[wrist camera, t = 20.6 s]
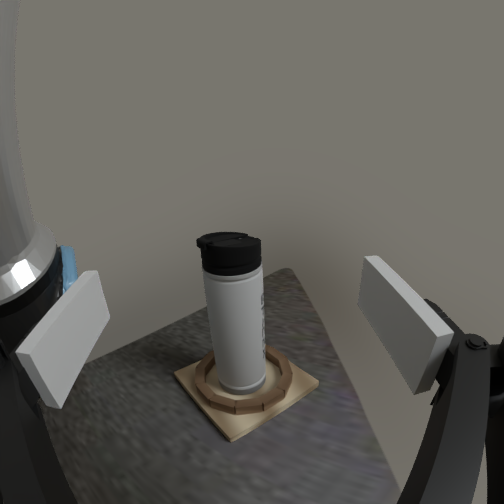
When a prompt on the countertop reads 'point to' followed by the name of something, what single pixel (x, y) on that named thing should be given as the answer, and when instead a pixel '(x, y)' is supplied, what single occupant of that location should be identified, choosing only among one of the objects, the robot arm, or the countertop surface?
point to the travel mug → (235, 308)
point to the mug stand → (245, 406)
